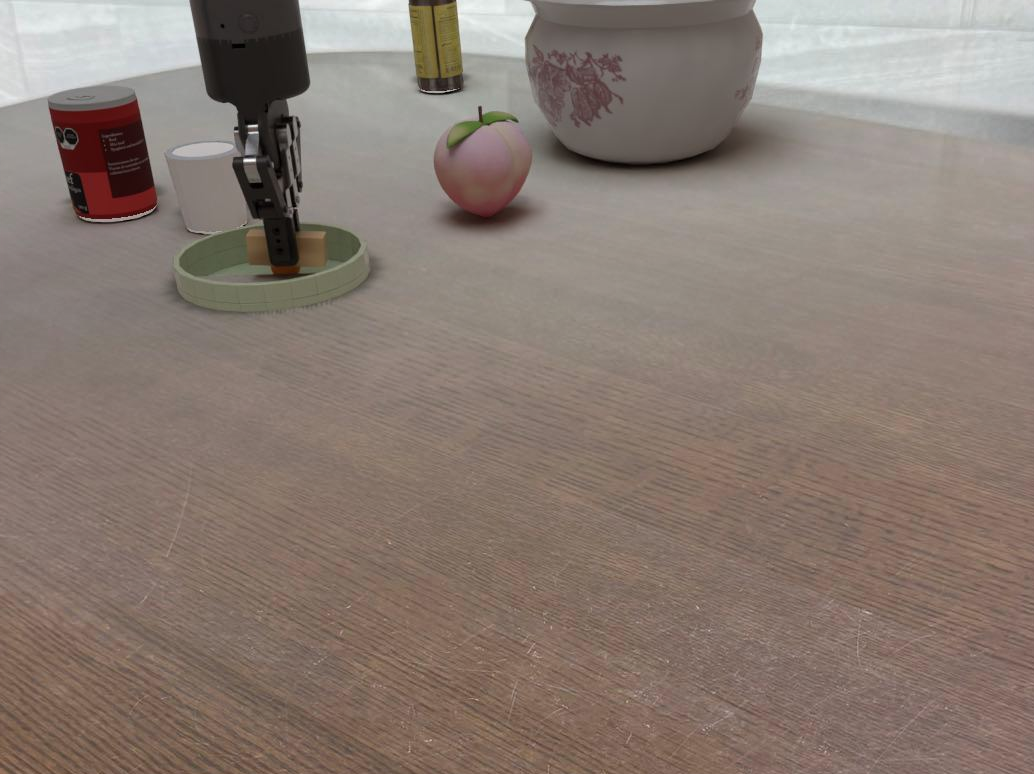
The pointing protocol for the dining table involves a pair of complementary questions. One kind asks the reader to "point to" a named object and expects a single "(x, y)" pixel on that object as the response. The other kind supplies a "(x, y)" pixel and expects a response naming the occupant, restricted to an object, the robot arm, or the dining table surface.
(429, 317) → the dining table surface
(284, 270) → the ball
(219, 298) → the bowl
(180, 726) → the dining table surface
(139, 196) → the canned food
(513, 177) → the decorative fruit
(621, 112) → the chamber pot
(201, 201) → the white cup
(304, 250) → the block
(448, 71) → the sauce bottle
